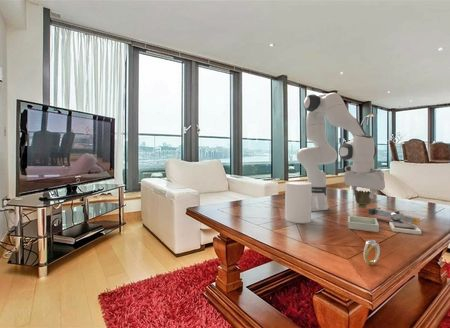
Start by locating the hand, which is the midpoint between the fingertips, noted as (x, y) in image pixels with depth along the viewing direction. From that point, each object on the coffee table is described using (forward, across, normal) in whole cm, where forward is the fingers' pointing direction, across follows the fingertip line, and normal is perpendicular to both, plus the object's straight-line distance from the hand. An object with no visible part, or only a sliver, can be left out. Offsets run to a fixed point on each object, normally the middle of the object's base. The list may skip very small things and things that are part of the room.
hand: (363, 196), depth 119 cm
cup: (+5, 0, 0) cm, 5 cm away
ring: (+15, -31, +30) cm, 46 cm away
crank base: (+15, -3, -19) cm, 24 cm away
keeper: (+15, -10, -14) cm, 23 cm away
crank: (+12, -1, -19) cm, 22 cm away
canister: (+15, +22, +22) cm, 34 cm away
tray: (+14, 0, 0) cm, 15 cm away
